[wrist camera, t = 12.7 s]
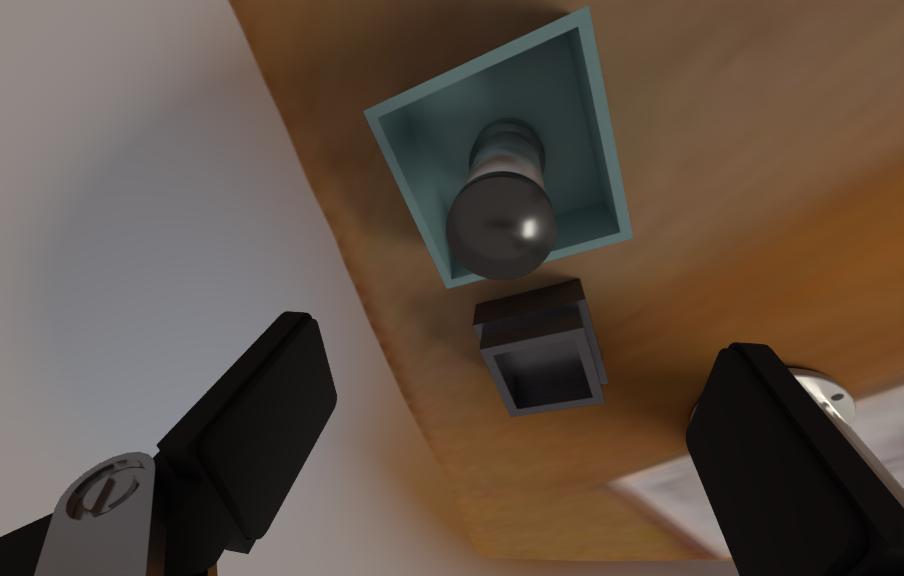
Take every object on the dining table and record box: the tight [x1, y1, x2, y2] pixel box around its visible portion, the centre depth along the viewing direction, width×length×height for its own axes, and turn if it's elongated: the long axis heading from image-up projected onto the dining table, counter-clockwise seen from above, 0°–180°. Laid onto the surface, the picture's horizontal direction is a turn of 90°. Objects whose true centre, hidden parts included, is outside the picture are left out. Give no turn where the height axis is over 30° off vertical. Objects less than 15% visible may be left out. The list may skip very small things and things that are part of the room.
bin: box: [363, 5, 633, 289], centre depth 24 cm, size 12×12×6 cm
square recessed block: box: [473, 279, 609, 417], centre depth 32 cm, size 9×9×6 cm
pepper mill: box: [446, 117, 556, 280], centre depth 21 cm, size 5×5×13 cm
